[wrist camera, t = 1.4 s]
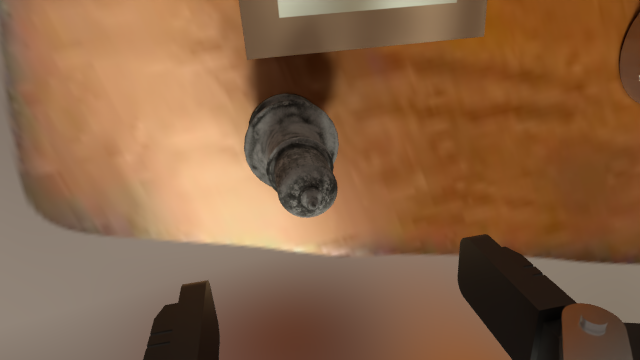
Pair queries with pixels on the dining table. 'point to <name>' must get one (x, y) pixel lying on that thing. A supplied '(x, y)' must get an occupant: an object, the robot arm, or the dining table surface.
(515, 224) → the dining table surface
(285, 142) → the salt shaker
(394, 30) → the base block
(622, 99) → the dining table surface
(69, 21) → the dining table surface
